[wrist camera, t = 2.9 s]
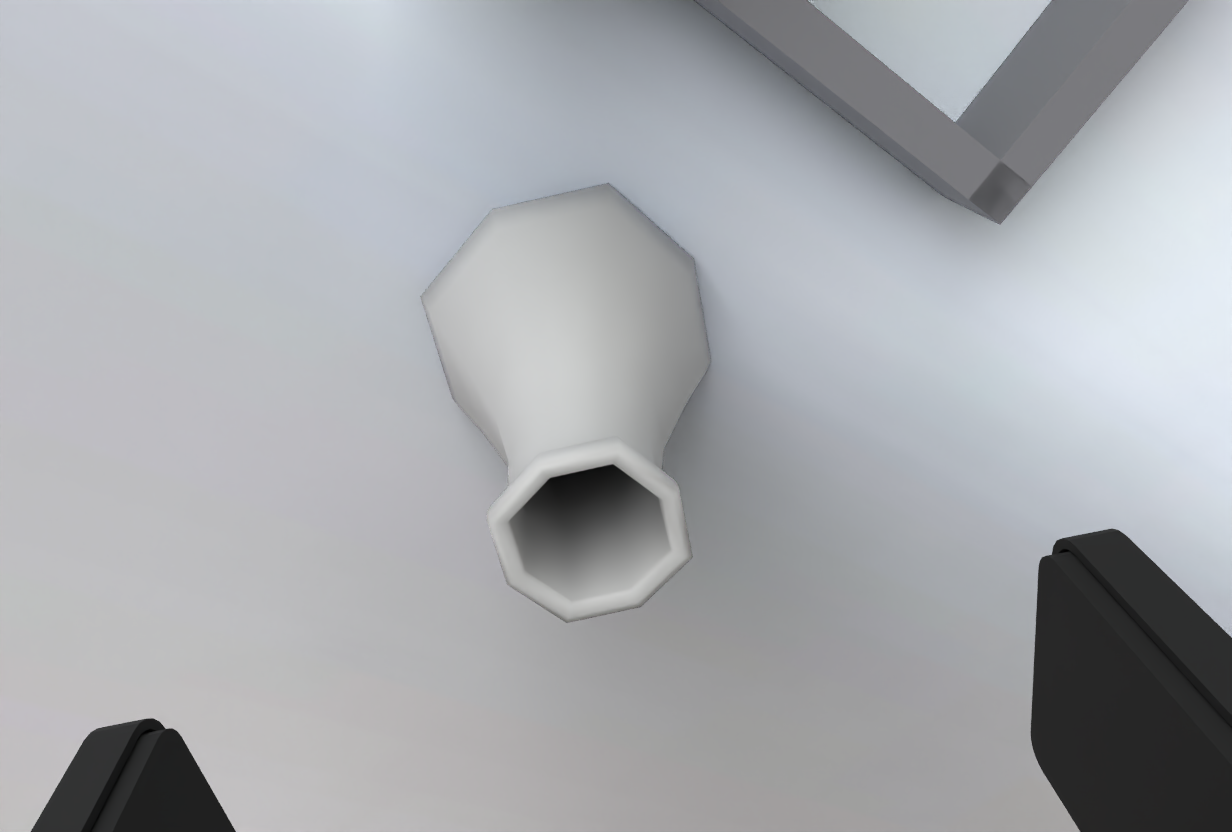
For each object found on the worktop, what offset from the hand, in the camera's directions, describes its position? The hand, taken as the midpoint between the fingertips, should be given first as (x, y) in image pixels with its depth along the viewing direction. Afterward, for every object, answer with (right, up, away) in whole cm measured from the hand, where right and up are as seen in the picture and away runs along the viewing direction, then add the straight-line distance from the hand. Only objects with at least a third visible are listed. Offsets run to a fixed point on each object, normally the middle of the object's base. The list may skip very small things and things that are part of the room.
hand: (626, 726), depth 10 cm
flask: (-1, +6, +14) cm, 15 cm away
